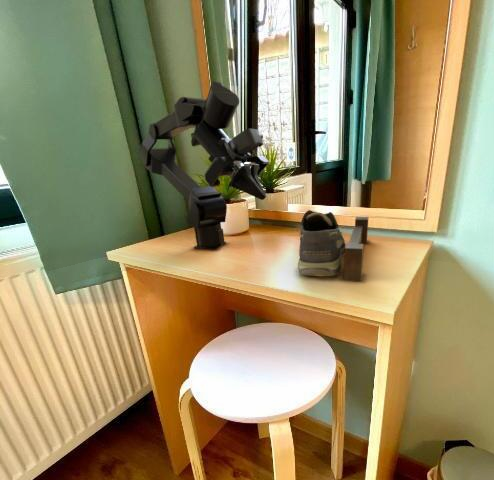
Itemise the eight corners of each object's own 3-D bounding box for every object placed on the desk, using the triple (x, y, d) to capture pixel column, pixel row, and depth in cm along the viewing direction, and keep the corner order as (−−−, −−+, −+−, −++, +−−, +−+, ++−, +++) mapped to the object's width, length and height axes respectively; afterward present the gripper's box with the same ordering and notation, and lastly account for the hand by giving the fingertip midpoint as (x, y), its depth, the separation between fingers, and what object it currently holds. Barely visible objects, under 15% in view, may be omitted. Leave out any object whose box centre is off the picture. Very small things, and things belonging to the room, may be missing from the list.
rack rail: (343, 280, 58) (344, 248, 55) (354, 240, 82) (356, 216, 80) (360, 281, 57) (362, 248, 54) (366, 240, 82) (368, 217, 79)
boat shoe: (342, 239, 84) (343, 199, 80) (354, 281, 57) (357, 225, 53) (303, 239, 85) (302, 200, 81) (296, 281, 58) (295, 226, 54)
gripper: (209, 109, 55) (266, 174, 55) (260, 118, 71) (303, 169, 71) (182, 156, 61) (233, 215, 61) (234, 155, 77) (274, 202, 77)
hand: (264, 198), depth 67 cm, fingers closed
